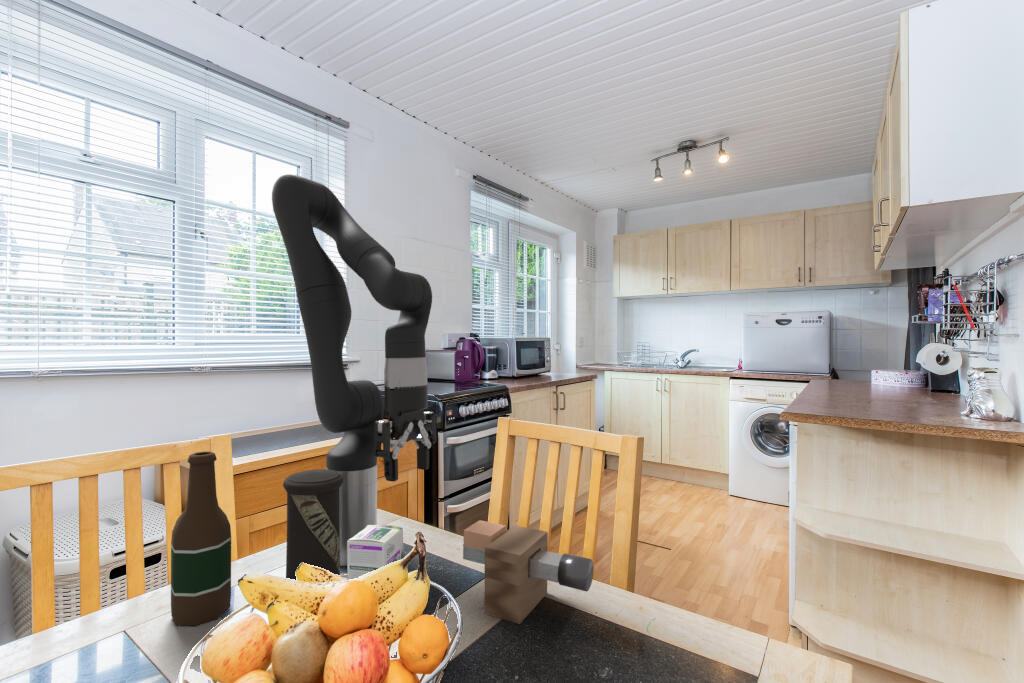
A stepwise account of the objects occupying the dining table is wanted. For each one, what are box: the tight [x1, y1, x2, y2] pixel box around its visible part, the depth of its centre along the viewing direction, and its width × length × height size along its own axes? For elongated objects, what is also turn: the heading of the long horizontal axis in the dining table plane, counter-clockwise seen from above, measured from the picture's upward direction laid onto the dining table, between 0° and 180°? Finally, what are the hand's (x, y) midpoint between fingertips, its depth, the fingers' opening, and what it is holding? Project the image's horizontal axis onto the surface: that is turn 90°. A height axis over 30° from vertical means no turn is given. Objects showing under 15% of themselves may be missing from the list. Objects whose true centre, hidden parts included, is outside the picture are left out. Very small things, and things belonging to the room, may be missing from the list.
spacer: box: [463, 519, 507, 551], centre depth 80 cm, size 5×5×2 cm
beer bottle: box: [170, 451, 232, 628], centre depth 73 cm, size 8×8×24 cm
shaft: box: [462, 543, 594, 592], centre depth 76 cm, size 20×4×4 cm, turn 63°
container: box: [282, 468, 343, 580], centre depth 78 cm, size 9×9×20 cm
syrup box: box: [346, 524, 404, 581], centre depth 68 cm, size 6×6×14 cm
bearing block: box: [483, 524, 549, 625], centre depth 77 cm, size 6×10×10 cm, turn 153°
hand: (408, 474), depth 87 cm, fingers open, 8 cm apart
